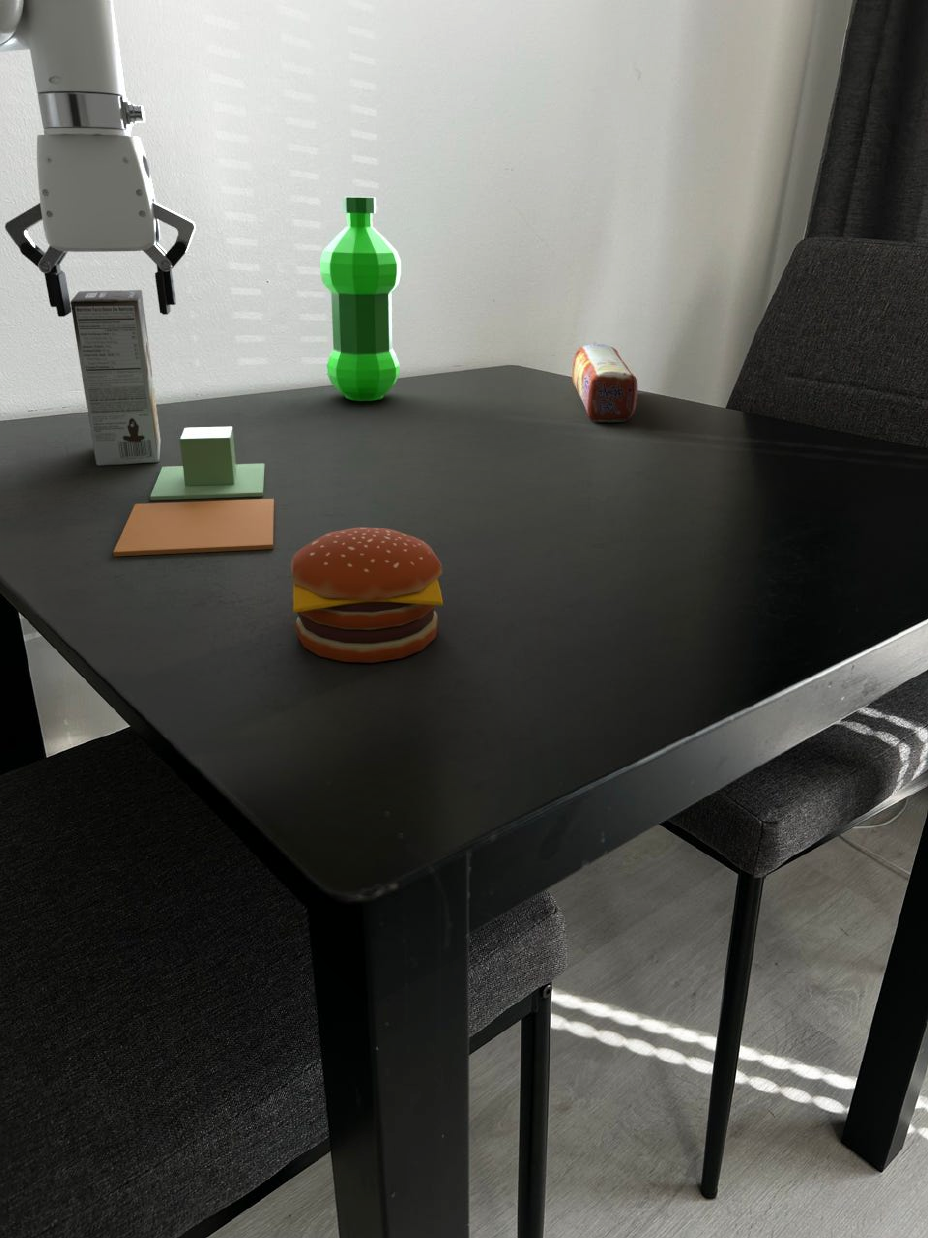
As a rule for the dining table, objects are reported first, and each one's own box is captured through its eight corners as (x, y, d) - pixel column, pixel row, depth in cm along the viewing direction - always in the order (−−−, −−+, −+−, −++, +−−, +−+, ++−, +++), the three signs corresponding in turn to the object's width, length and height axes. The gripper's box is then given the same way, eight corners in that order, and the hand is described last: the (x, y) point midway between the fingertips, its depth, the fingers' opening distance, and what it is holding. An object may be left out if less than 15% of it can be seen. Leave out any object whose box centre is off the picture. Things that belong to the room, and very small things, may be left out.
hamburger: (297, 673, 54) (289, 568, 51) (294, 607, 62) (287, 514, 59) (454, 661, 55) (455, 558, 52) (430, 598, 64) (430, 507, 61)
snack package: (636, 424, 113) (642, 369, 110) (583, 423, 113) (587, 368, 110) (616, 391, 132) (620, 343, 130) (570, 390, 133) (573, 341, 130)
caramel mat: (113, 556, 70) (112, 551, 70) (135, 507, 81) (135, 503, 80) (273, 549, 72) (272, 544, 72) (273, 502, 83) (273, 498, 82)
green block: (185, 486, 85) (179, 438, 83) (189, 473, 89) (184, 427, 87) (234, 484, 86) (230, 437, 84) (236, 471, 90) (232, 426, 88)
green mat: (150, 500, 82) (149, 496, 82) (162, 470, 91) (162, 466, 91) (263, 496, 84) (262, 492, 84) (264, 467, 93) (264, 463, 93)
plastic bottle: (417, 396, 126) (416, 198, 116) (361, 408, 119) (354, 197, 108) (367, 386, 132) (362, 196, 122) (311, 396, 125) (300, 195, 114)
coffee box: (100, 444, 100) (76, 289, 93) (161, 441, 102) (142, 289, 95) (95, 466, 92) (68, 299, 85) (161, 463, 94) (140, 298, 87)
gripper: (186, 122, 88) (207, 307, 96) (-4, 120, 86) (33, 311, 93) (179, 117, 82) (202, 317, 89) (-28, 114, 79) (14, 320, 86)
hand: (115, 313), depth 91 cm, fingers open, 9 cm apart
